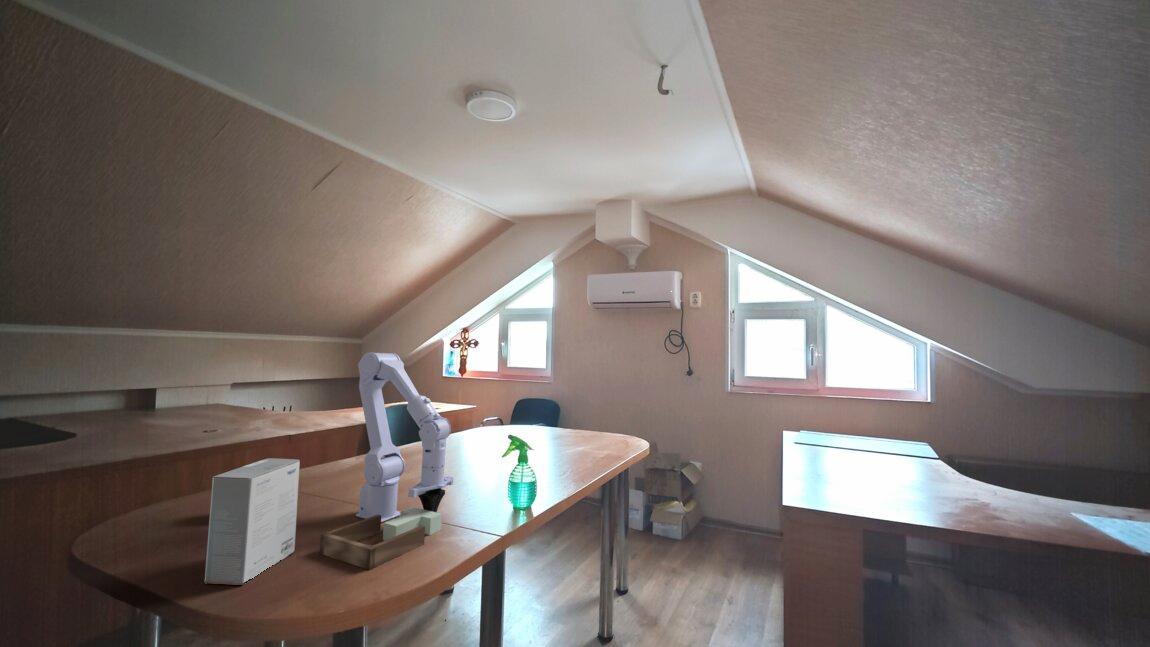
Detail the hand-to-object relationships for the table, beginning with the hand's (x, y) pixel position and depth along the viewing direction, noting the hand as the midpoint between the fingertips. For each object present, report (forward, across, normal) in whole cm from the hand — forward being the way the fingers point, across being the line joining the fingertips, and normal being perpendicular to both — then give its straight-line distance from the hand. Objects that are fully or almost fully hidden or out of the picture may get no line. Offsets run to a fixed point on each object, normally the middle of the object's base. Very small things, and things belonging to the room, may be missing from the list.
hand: (429, 519), depth 119 cm
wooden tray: (+1, -17, 0) cm, 17 cm away
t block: (+1, -7, 0) cm, 7 cm away
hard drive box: (+2, -36, +13) cm, 38 cm away
